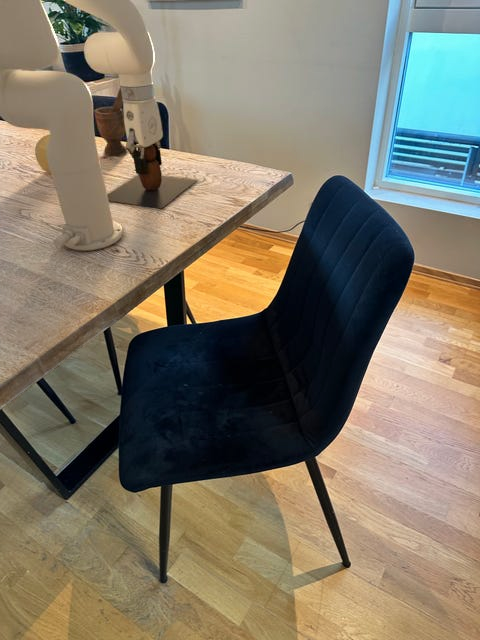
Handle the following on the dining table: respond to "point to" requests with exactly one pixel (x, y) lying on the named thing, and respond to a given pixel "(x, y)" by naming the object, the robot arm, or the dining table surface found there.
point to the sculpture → (42, 153)
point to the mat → (150, 192)
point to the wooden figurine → (151, 170)
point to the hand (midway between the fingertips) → (149, 168)
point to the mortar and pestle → (112, 126)
